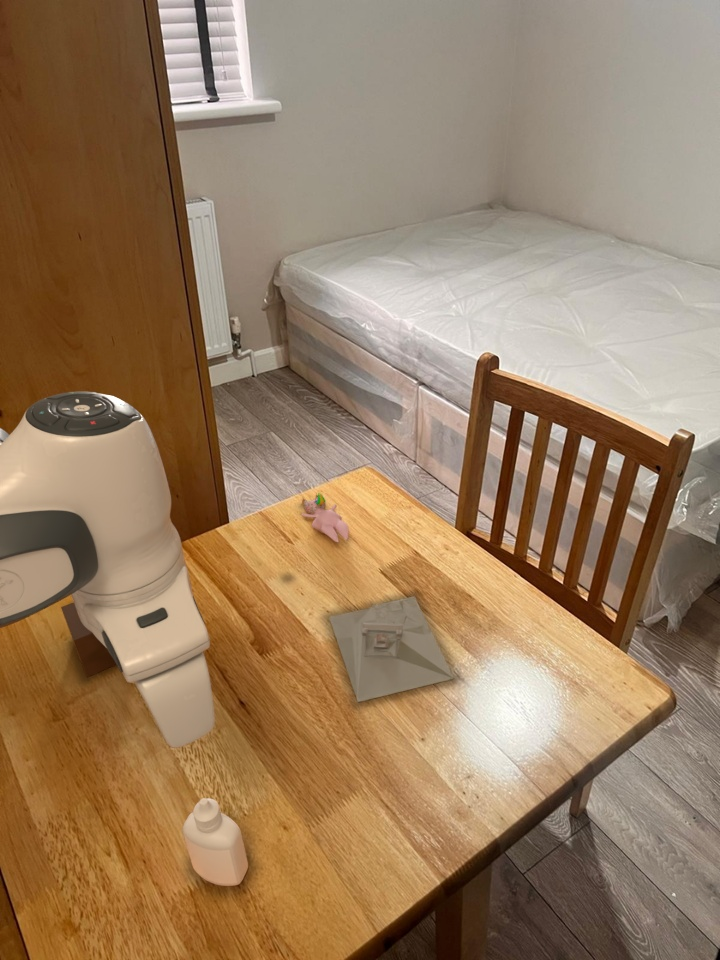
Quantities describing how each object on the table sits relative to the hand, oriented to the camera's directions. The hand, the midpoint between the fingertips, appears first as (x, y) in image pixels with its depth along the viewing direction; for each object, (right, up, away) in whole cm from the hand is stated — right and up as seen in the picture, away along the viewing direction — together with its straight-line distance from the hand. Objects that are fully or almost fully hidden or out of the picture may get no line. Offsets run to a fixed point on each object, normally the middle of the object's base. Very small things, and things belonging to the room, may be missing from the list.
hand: (163, 696), depth 66 cm
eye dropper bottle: (+3, -20, +9) cm, 23 cm away
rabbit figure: (+12, +11, +54) cm, 57 cm away
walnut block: (-17, -4, +34) cm, 38 cm away
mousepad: (+18, -1, +36) cm, 41 cm away
